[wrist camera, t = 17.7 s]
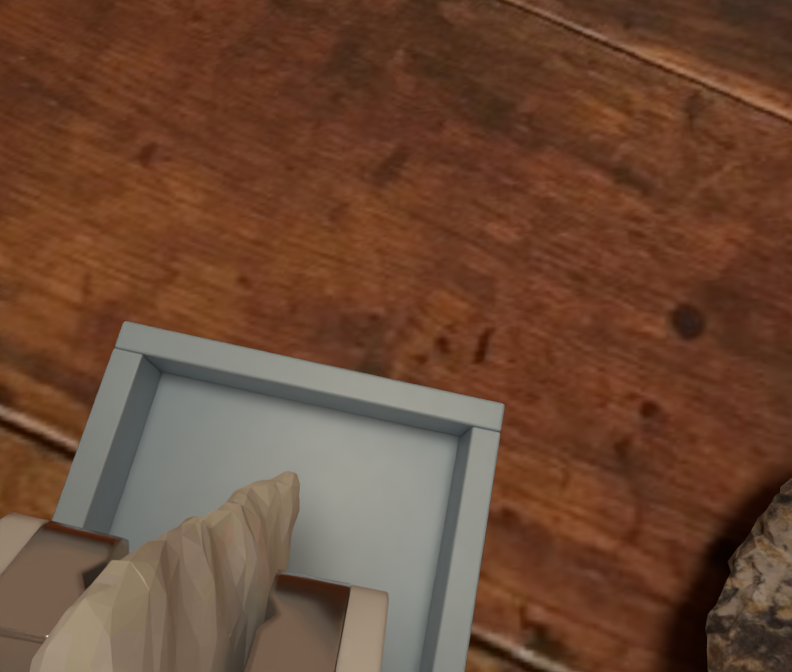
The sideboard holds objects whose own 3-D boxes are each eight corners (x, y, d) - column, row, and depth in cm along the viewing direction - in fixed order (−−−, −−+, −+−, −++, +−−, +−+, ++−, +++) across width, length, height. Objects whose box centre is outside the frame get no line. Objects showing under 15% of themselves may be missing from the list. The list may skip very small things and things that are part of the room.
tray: (391, 1013, 15) (400, 1102, 13) (-50, 925, 15) (-123, 999, 13) (485, 419, 20) (505, 403, 17) (149, 346, 20) (122, 319, 17)
